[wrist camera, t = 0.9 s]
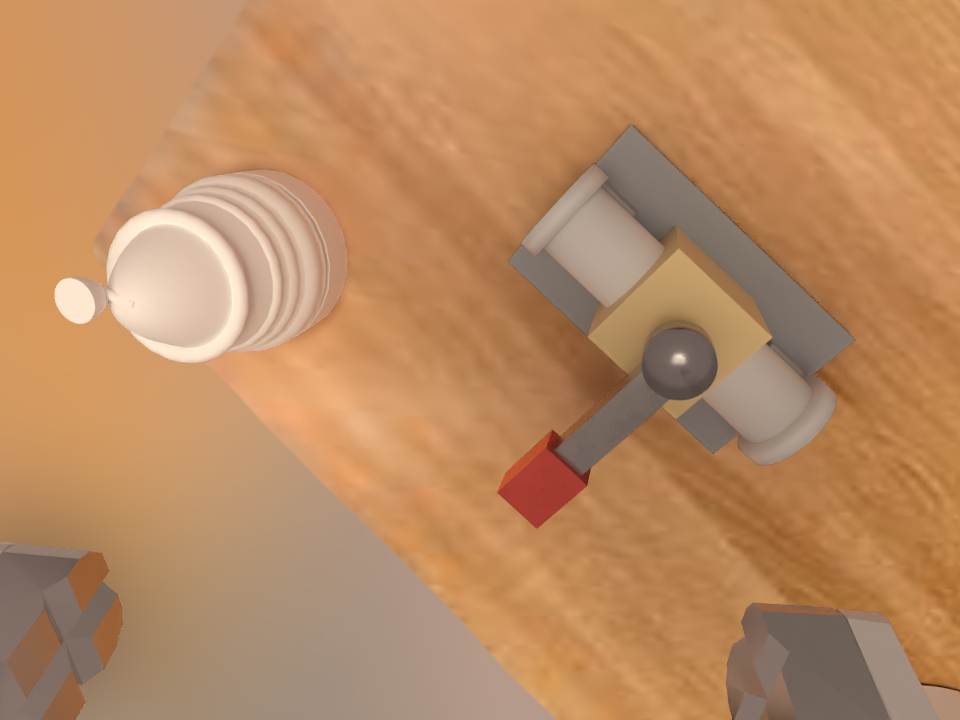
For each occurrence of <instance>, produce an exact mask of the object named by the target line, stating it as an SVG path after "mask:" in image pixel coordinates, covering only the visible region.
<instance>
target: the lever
mask: <svg viewBox="0 0 960 720" xmlns="http://www.w3.org/2000/svg"><path fill="white" fill-rule="evenodd" d="M717 370H718V361H717V356H716V352H715V347H714V344H713V341H712V339H711V337H710V336H709V334H708V333H707V332H706V331H705V330H704V329H703V328H702V327H700V326H699V325H697V324H695V323H693V322H689V321H685V320H674V321H669V322H666V323H663V324H661V325H659V326H658V327H656V328H655V329H654V330H653V331H652V332H651V333H650V334H649V335H648V337H647V339H646V341H645V343H644V346H643V354H642V363H640V364H639V365H638V366H637V367H636V368H635V369H634V370H633V371H632V372H631V373H629V374H628V375H627V376H626V377H625V378H624V379H623V380H622V381H621V382H620V383H618V384H617V385H616V386H615V387H614V388H613V389H612V390H611V391H610V392H609V393H608V394H606V395H605V396H604V397H603V398H602V399H601V400H600V401H599V402H598V403H597V404H595V405H594V406H593V407H592V408H591V409H590V410H589V411H588V412H587V413H586V414H584V415H583V416H582V417H581V418H580V419H579V420H578V421H577V422H576V423H575V424H573V425H572V426H571V427H570V428H569V429H568V430H567V431H566V432H565V433H564V434H562V435H561V436H559V435H558V434H557V433H556V432H555V431H554V430H552V431H550V432H549V433H548V434H547V435H546V436H545V437H544V438H543V439H542V440H541V441H540V442H539V443H537V444H536V445H535V446H534V447H533V448H532V449H531V450H530V451H529V452H528V453H527V454H525V455H524V456H523V457H522V458H521V459H520V460H519V461H518V462H517V463H516V464H515V465H514V466H512V467H511V468H510V469H509V470H508V471H507V472H506V474H505V476H504V478H503V480H502V483H501V485H500V487H499V490H498V492H497V493H498V494H500V495H501V496H502V497H503V498H504V499H505V500H506V501H507V502H508V503H509V504H510V505H512V506H513V507H514V508H515V509H516V510H517V511H518V512H519V513H520V514H521V515H522V516H523V517H525V518H526V519H527V520H528V521H529V522H530V523H531V524H532V525H533V526H534V527H535V528H538V527H539V526H541V525H542V524H543V523H544V522H545V521H546V520H548V519H549V518H550V517H551V516H552V515H554V514H555V513H556V512H557V511H558V510H559V509H561V508H562V507H563V506H564V505H565V504H566V503H568V502H569V501H570V500H571V499H572V498H573V497H575V496H576V495H577V494H578V493H579V492H581V491H582V490H583V489H584V488H585V487H586V486H587V484H588V479H589V474H590V469H591V467H592V466H593V465H594V464H596V463H597V462H598V461H599V460H600V459H601V458H603V457H604V456H605V455H606V454H607V453H608V452H610V451H611V450H612V449H613V448H614V447H615V446H616V445H618V444H619V443H620V442H621V441H622V440H623V439H625V438H626V437H627V436H628V435H629V434H630V433H632V432H633V431H634V430H635V429H636V428H637V427H638V426H640V425H641V424H642V423H643V422H644V421H645V420H647V419H648V418H649V417H650V416H651V415H652V414H653V413H655V412H656V411H657V410H658V409H659V408H660V407H662V406H663V405H664V404H665V403H666V402H667V401H669V400H670V399H671V400H678V401H679V400H689V399H692V398H695V397H697V396H699V395H701V394H702V393H704V392H705V391H706V390H707V389H708V388H709V387H710V386H711V385H712V383H713V382H714V380H715V377H716V375H717Z"/></svg>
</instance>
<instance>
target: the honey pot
mask: <svg viewBox="0 0 960 720" xmlns="http://www.w3.org/2000/svg"><path fill="white" fill-rule="evenodd" d="M347 266H348V255H347V250H346V244H345V239H344V235H343V232H342V230H341V228H340V226H339V223H338V221H337V219H336V216H335V214H334V213H333V212H332V210H331V209H330V208H329V206H328V205H327V204H326V202H325V201H324V200H323V198H322V197H321V196H320V195H319V194H318V193H316V192H315V191H314V190H313V189H312V188H310V187H309V186H308V185H307V184H305V183H304V182H303V181H301V180H299V179H296V178H294V177H292V176H290V175H288V174H286V173H284V172H278V171H271V170H265V169H260V170H253V171H245V172H237V173H229V174H222V175H214V176H207V177H204V178H202V179H200V180H198V181H196V182H194V183H192V184H190V185H188V186H186V187H184V188H183V189H182V190H181V191H180V192H179V193H178V194H177V195H176V196H175V197H174V198H173V199H172V200H171V201H170V202H168V203H166V204H164V205H162V206H161V207H160V208H159V209H151V210H147V211H145V212H142V213H140V214H138V215H136V216H134V217H132V218H130V219H129V220H128V221H127V222H126V223H125V224H124V225H123V226H122V227H121V228H120V229H119V230H118V232H117V234H116V236H115V238H114V240H113V242H112V244H111V246H110V250H109V255H108V260H107V266H106V268H107V284H108V287H105V286H103V285H100V284H99V283H98V282H96V281H93V280H92V279H88V278H83V277H72V278H66V279H63V280H62V281H61V282H59V283H58V285H57V287H56V289H55V301H56V304H57V307H58V309H59V310H60V312H61V313H62V314H63V315H64V316H65V317H66V318H67V319H68V320H70V321H72V322H74V323H79V324H82V323H86V322H89V321H91V320H92V319H94V318H96V317H97V316H98V315H99V314H100V313H101V312H102V311H103V309H104V308H105V306H106V303H107V300H108V304H109V307H110V310H111V312H112V313H113V315H114V316H115V318H116V319H117V320H118V321H119V322H120V323H121V324H122V325H123V326H124V327H126V328H127V329H128V330H129V331H130V332H131V333H132V335H133V336H134V337H135V338H136V339H138V341H140V342H141V343H142V344H143V345H145V346H146V347H147V348H148V349H150V350H151V351H153V352H155V353H157V354H159V355H161V356H163V357H165V358H167V359H170V360H174V361H179V362H184V363H195V362H205V361H208V360H211V359H213V358H216V357H219V356H221V355H222V354H223V353H225V352H231V351H241V352H250V351H263V350H268V349H271V348H273V347H276V346H279V345H281V344H284V343H286V342H287V341H288V340H291V339H293V338H294V337H296V336H298V335H300V334H301V333H303V332H305V331H306V330H308V329H310V328H311V327H313V326H315V325H316V324H317V323H318V322H320V321H321V320H322V319H324V318H325V317H326V316H327V315H329V314H330V312H331V311H332V309H333V308H334V307H335V305H336V304H337V302H338V301H339V299H340V297H341V294H342V292H343V289H344V286H345V283H346V280H347Z"/></svg>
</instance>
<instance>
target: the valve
mask: <svg viewBox="0 0 960 720" xmlns="http://www.w3.org/2000/svg"><path fill="white" fill-rule="evenodd" d="M521 244H522V246H521V247H520V248H519V249H518V250H517V251H516V252H515V253H514V254H513V255H512V257H511V258H510V259H509V260H508V262H509V263H510V264H511V265H512V266H513V267H514V268H515V269H516V270H517V271H518V272H519V273H520V274H521V275H522V276H524V277H525V278H526V279H527V280H528V281H529V282H530V283H531V284H532V285H533V286H534V287H535V288H536V289H537V290H538V291H540V292H541V293H542V294H543V295H544V296H545V297H546V298H547V299H548V300H549V301H550V302H551V303H552V304H553V305H554V306H556V307H557V308H558V309H559V310H560V311H561V312H562V313H563V314H564V315H565V316H566V317H567V318H568V319H569V320H570V321H572V322H573V323H574V324H575V325H576V326H577V327H578V328H579V329H580V330H581V331H582V332H583V333H584V334H585V335H586V336H588V338H589V339H590V340H591V341H592V342H593V343H594V344H595V345H596V346H598V347H599V348H600V349H601V350H602V351H603V352H604V353H605V354H606V355H607V356H608V357H609V358H610V359H611V360H612V361H614V362H615V363H616V364H617V365H618V366H619V367H620V368H621V369H622V370H623V371H624V372H625V373H626V374H627V375H628V374H629V373H631V372H632V371H633V370H634V369H635V368H636V367H637V366H638V365H639V364H640V363H642V354H643V346H644V343H645V341H646V339H647V337H648V335H649V334H650V333H651V332H652V331H653V330H654V329H655V328H656V327H658V326H659V325H661V324H663V323H666V322H669V321H674V320H685V321H689V322H693V323H695V324H697V325H699V326H700V327H702V328H703V329H704V330H705V331H706V332H707V333H708V334H709V336H710V337H711V339H712V341H713V344H714V347H715V352H716V356H717V361H718V370H717V375H716V377H715V380H714V382H713V383H712V385H711V386H710V387H709V388H708V389H707V390H706V391H705V392H704V393H702V394H701V395H699V396H697V397H695V398H692V399H689V400H679V401H678V400H671V399H670V400H669V401H667V402H666V403H665V404H664V405H663V406H662V407H663V408H664V409H665V410H666V411H667V412H668V413H669V414H670V415H671V416H672V417H673V418H674V419H675V420H677V421H678V422H679V423H680V424H681V425H682V426H684V427H685V428H686V429H687V430H688V431H689V432H690V433H691V434H692V435H693V436H694V437H695V438H696V439H697V440H698V441H700V442H701V443H702V444H703V445H704V446H705V447H706V448H707V449H708V450H709V451H710V452H711V453H712V454H714V453H715V452H716V451H718V450H719V449H720V448H721V447H723V446H724V445H725V444H726V443H728V442H729V441H730V440H731V439H733V438H734V437H735V436H736V435H738V434H739V433H740V434H739V437H738V447H739V449H740V450H741V451H742V452H743V453H744V454H745V455H747V456H748V457H749V458H750V459H751V460H752V461H753V462H754V463H755V464H757V465H763V466H764V465H771V464H774V463H777V462H780V461H782V460H784V459H786V458H788V457H790V456H791V455H793V454H795V453H796V452H797V451H799V450H800V449H802V448H803V447H804V446H805V445H807V444H808V443H809V442H810V441H811V440H812V439H813V438H814V437H815V436H816V435H817V434H818V433H819V432H820V431H821V430H822V429H823V427H824V426H825V425H826V424H827V422H828V421H829V419H830V418H831V416H832V414H833V412H834V409H835V407H836V402H837V397H836V394H835V392H834V391H833V390H832V389H831V388H830V387H829V386H827V385H826V384H825V383H824V382H823V381H822V380H821V379H820V378H819V377H817V376H813V374H814V373H815V372H817V371H818V370H819V369H820V368H822V367H823V366H824V365H825V364H827V363H828V362H829V361H830V360H832V359H833V358H834V357H835V356H837V355H838V354H839V353H840V352H842V351H843V350H844V349H845V348H847V347H848V346H849V345H850V344H852V343H853V342H854V341H855V339H854V338H853V337H852V335H851V334H850V333H849V332H848V331H847V330H846V329H845V328H844V327H842V326H841V325H840V324H839V323H838V322H837V321H836V320H835V319H834V318H833V317H832V316H831V315H830V314H829V313H828V312H827V311H826V310H825V309H824V308H823V307H822V306H821V305H820V304H818V303H817V302H816V301H815V300H814V299H813V298H812V297H811V296H810V295H809V294H808V293H807V292H806V291H805V290H804V289H803V288H802V287H801V286H800V285H799V284H798V283H797V282H796V281H795V280H793V279H792V278H791V277H790V276H789V275H788V274H787V273H786V272H785V271H784V270H783V269H782V268H781V267H780V266H779V265H778V264H777V263H776V262H775V261H774V260H773V259H772V258H771V257H770V256H768V255H767V254H766V253H765V252H764V251H763V250H762V249H761V248H760V247H759V246H758V245H757V244H756V243H755V242H754V241H753V240H752V239H751V238H750V237H749V236H748V235H747V234H746V233H744V232H743V231H742V230H741V229H740V228H739V227H738V226H737V225H736V224H735V223H734V222H733V221H732V220H731V219H730V218H729V217H728V216H727V215H726V214H725V213H724V212H723V211H722V210H721V209H719V208H718V207H717V206H716V205H715V204H714V203H713V202H712V201H711V200H710V199H709V198H708V197H707V196H706V195H705V194H704V193H703V192H702V191H701V190H700V189H699V188H698V187H697V186H695V185H694V184H693V183H692V182H691V181H690V180H689V179H688V178H687V177H686V176H685V175H684V174H683V173H682V172H681V171H680V170H679V169H678V168H677V167H676V166H675V165H674V164H673V163H672V162H670V161H669V160H668V159H667V158H666V157H665V156H664V155H663V154H662V153H661V152H660V151H659V150H658V149H657V148H656V147H655V146H654V145H653V144H652V143H651V142H650V141H649V140H648V139H646V138H645V137H644V136H643V135H642V134H641V133H640V132H639V131H638V130H637V129H636V128H635V127H634V126H633V125H631V126H630V127H629V128H628V129H627V130H626V131H625V132H624V134H623V135H622V136H621V137H620V138H619V139H618V140H617V141H616V142H615V143H614V145H613V146H612V147H611V148H610V149H609V150H608V151H607V152H606V153H605V154H604V156H603V157H602V158H601V159H600V160H599V161H598V162H597V163H596V164H593V165H592V166H591V167H590V168H589V169H588V170H587V171H586V172H585V173H584V174H583V175H582V176H581V177H580V178H579V179H578V180H577V181H576V182H575V183H574V184H573V185H572V186H571V187H570V188H569V189H568V191H567V192H566V193H565V194H564V195H563V196H562V197H561V198H560V199H559V200H558V201H557V202H556V204H555V205H554V206H553V207H552V208H551V209H550V210H549V211H548V212H547V213H546V215H545V216H544V217H543V218H542V219H541V220H540V221H539V222H538V224H537V225H536V226H535V227H534V228H533V229H532V230H531V231H530V233H529V234H528V235H527V236H526V237H525V238H524V240H523V241H522V242H521Z"/></svg>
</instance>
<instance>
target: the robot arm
mask: <svg viewBox="0 0 960 720" xmlns="http://www.w3.org/2000/svg"><path fill="white" fill-rule="evenodd" d="M108 572H109V569H108V567H107V564H106V562H105V560H104V557H103V555H102V553H99V552H91V551H82V550H73V549H64V548H54V547H45V546H35V545H27V544H15V543H5V542H0V720H76V718H77V716H78V715H79V713H80V711H81V709H82V708H83V706H84V704H85V702H86V701H85V695H84V687H83V684H84V683H86V682H87V681H88V680H90V679H91V678H92V677H94V676H95V675H97V674H98V673H100V672H101V671H102V670H104V669H105V667H106V665H107V664H108V662H109V660H110V658H111V656H112V654H113V652H114V651H115V649H116V646H117V643H118V639H119V635H120V631H121V628H122V606H121V603H120V600H119V597H118V594H117V593H115V592H114V591H113V590H112V589H111V588H109V587H108V586H107V585H106V584H104V583H103V580H104V578H105V577H106V575H107V574H108ZM741 623H742V626H743V630H744V634H745V637H744V638H743V639H741V640H740V641H738V642H737V643H735V644H733V646H732V649H731V652H730V656H729V659H728V662H727V680H726V686H727V695H728V703H729V707H730V712H731V716H732V720H960V692H959V691H955V690H951V689H946V688H941V687H935V686H923V685H921V683H920V682H919V680H918V678H917V676H916V674H915V672H914V670H913V668H912V666H911V664H910V662H909V660H908V658H907V656H906V654H905V652H904V650H903V648H902V646H901V644H900V642H899V640H898V638H897V636H896V634H895V632H894V630H893V628H892V626H891V624H890V622H889V620H888V619H886V618H885V617H884V616H883V615H882V614H881V613H878V612H866V611H853V610H841V609H836V610H834V609H832V608H825V607H810V606H795V605H780V604H765V603H752V604H751V605H750V606H749V607H747V608H746V611H745V613H744V616H743V619H742V621H741Z"/></svg>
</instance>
